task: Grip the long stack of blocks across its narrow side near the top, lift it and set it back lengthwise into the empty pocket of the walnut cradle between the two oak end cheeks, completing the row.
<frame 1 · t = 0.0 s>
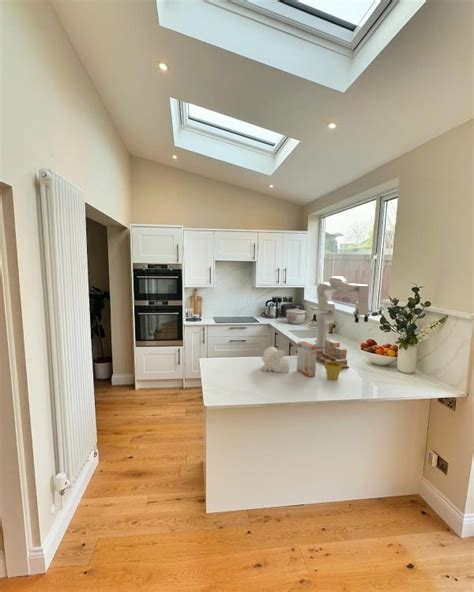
hand: (361, 322, 231), 31 cm above the countertop, fingers open, 9 cm apart
cauliflower: (273, 370, 207), on the countertop
plant pot: (332, 378, 194), on the countertop
cracker box: (305, 373, 203), on the countertop
cradle: (328, 362, 227), on the countertop
stack of blocks: (334, 357, 243), on the countertop
chamber pot: (295, 323, 391), on the countertop
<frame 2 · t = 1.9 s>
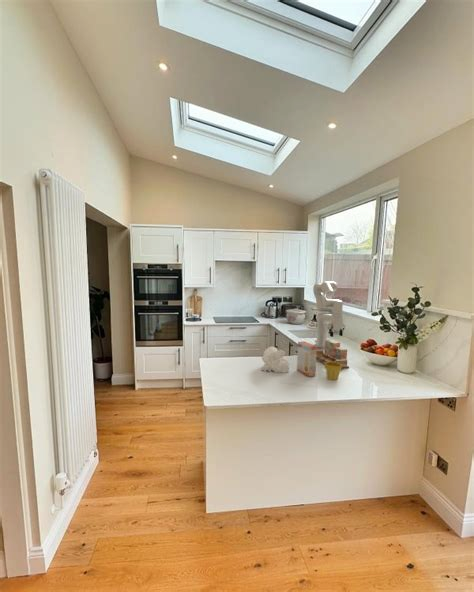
hand: (336, 336, 241), 18 cm above the countertop, fingers open, 9 cm apart
nothing on the countertop moved.
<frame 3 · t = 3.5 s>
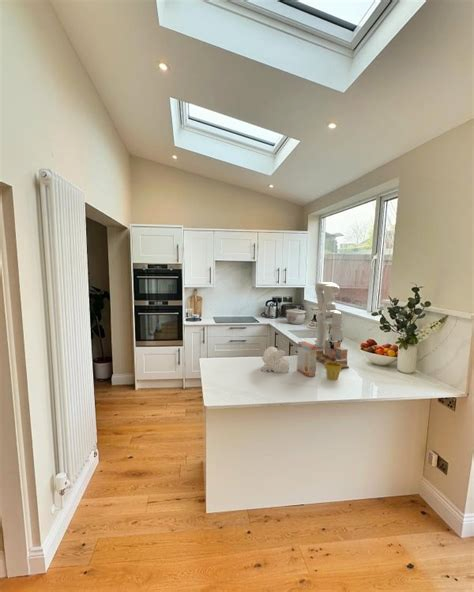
hand: (335, 348, 243), 7 cm above the countertop, fingers closed on stack of blocks, 6 cm apart
stack of blocks: (335, 357, 243), on the countertop, touching gripper
everything else where it was.
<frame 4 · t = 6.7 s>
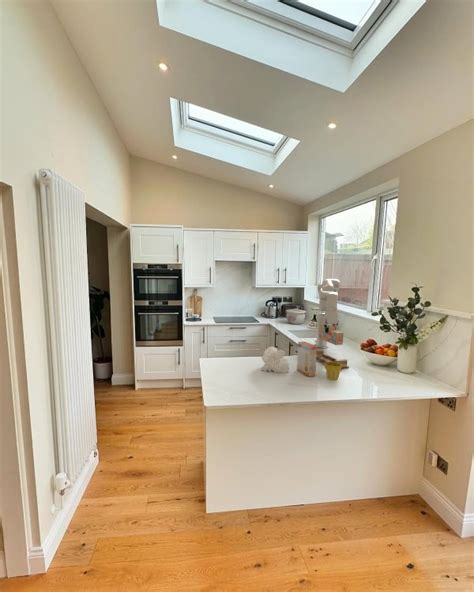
hand: (330, 332, 225), 24 cm above the countertop, fingers closed on stack of blocks, 6 cm apart
stack of blocks: (330, 341, 225), point 17 cm above the countertop, touching gripper
everything else where it was.
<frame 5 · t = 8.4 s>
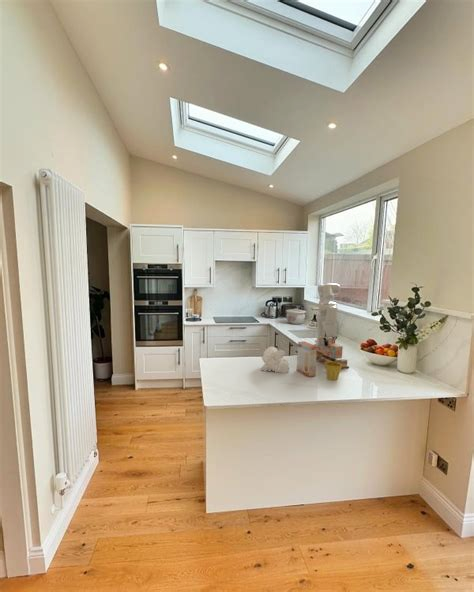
hand: (329, 345, 226), 14 cm above the countertop, fingers closed on stack of blocks, 6 cm apart
stack of blocks: (329, 354, 226), point 6 cm above the countertop, touching gripper
everything else where it was.
when the fingers open (9 cm above the countertop, at t = 9.9 s): stack of blocks stays where it is, resting on cradle.
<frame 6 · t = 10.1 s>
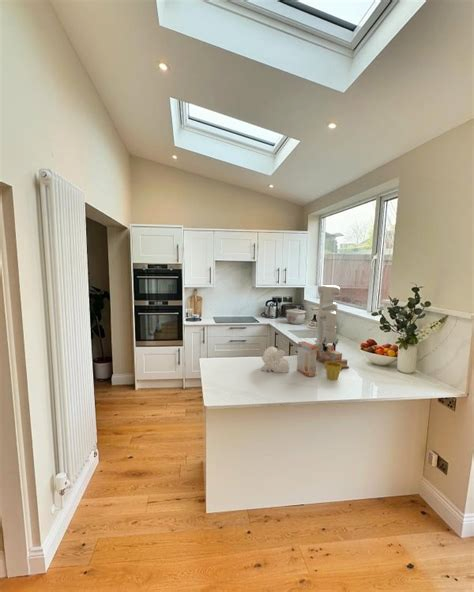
hand: (329, 350, 226), 10 cm above the countertop, fingers open, 8 cm apart
stack of blocks: (328, 361, 227), point 1 cm above the countertop, touching cradle
everything else where it was.
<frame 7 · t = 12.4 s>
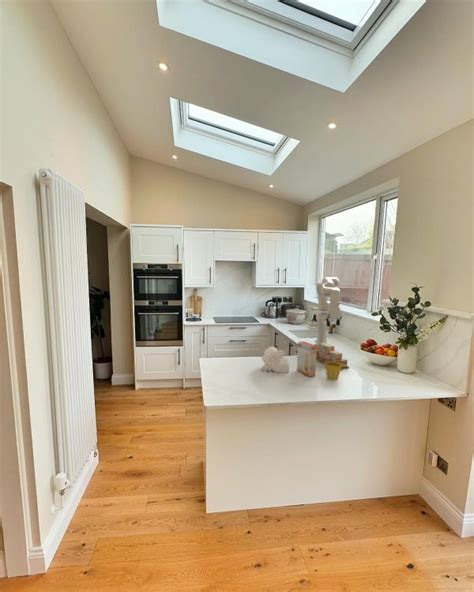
hand: (333, 325, 234), 27 cm above the countertop, fingers open, 9 cm apart
nothing on the countertop moved.
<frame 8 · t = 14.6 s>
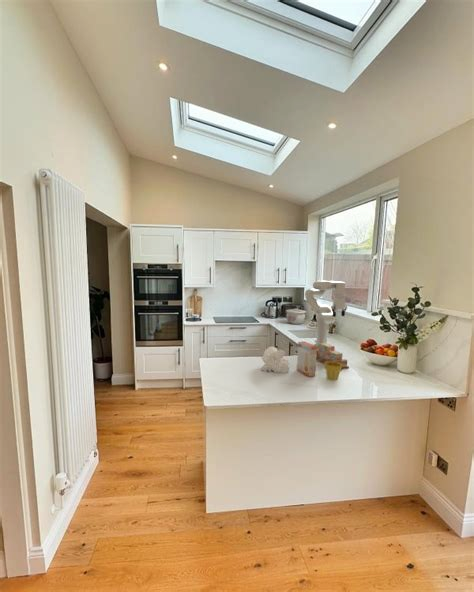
hand: (338, 316, 251), 32 cm above the countertop, fingers open, 9 cm apart
nothing on the countertop moved.
at the end: stack of blocks 0.8 cm from the cradle (horizontally); stack of blocks tilted 0°; the gripper is holding nothing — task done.
